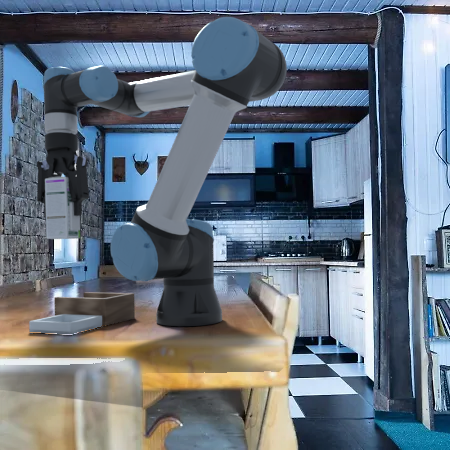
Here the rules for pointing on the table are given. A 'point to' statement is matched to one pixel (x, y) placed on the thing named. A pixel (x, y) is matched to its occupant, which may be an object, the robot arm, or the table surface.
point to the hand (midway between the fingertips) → (63, 230)
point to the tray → (65, 324)
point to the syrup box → (58, 209)
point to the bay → (98, 306)
